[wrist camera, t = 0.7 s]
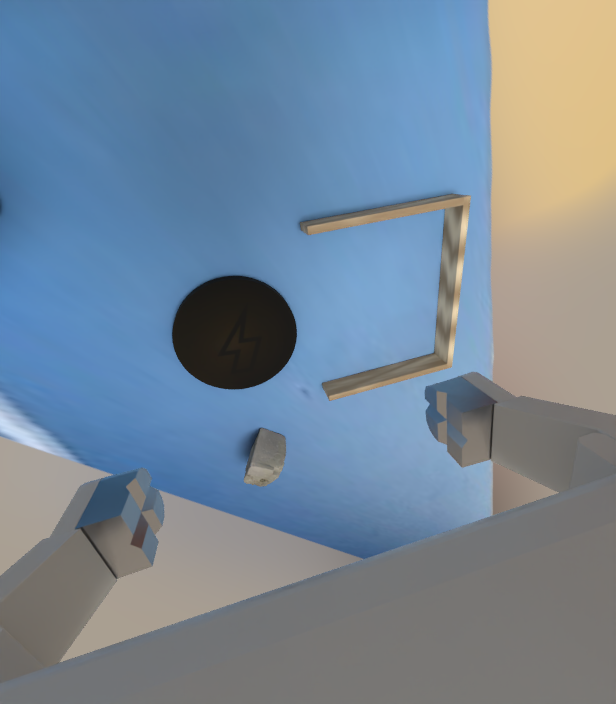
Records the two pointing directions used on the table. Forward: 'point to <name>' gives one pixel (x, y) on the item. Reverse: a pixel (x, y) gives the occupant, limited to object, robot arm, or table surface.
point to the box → (448, 288)
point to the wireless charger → (234, 332)
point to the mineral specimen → (265, 458)
